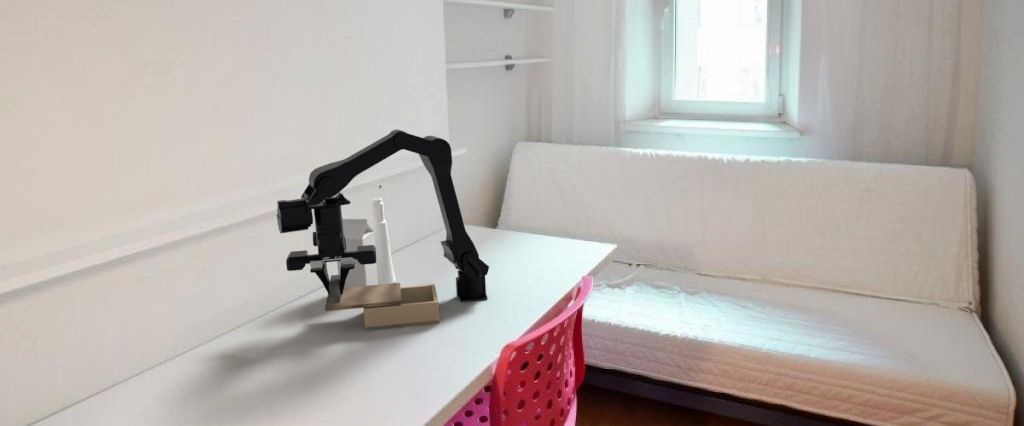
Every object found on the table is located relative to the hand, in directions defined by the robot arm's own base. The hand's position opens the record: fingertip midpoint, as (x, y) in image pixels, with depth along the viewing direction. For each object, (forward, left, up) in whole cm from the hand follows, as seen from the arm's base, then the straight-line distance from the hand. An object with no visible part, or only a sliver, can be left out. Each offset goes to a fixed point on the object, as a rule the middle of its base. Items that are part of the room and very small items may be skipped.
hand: (336, 294), depth 158 cm
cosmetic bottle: (-10, -26, -7) cm, 29 cm away
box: (-14, 0, -7) cm, 15 cm away
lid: (-6, 0, -1) cm, 6 cm away
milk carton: (-4, -19, -7) cm, 21 cm away
